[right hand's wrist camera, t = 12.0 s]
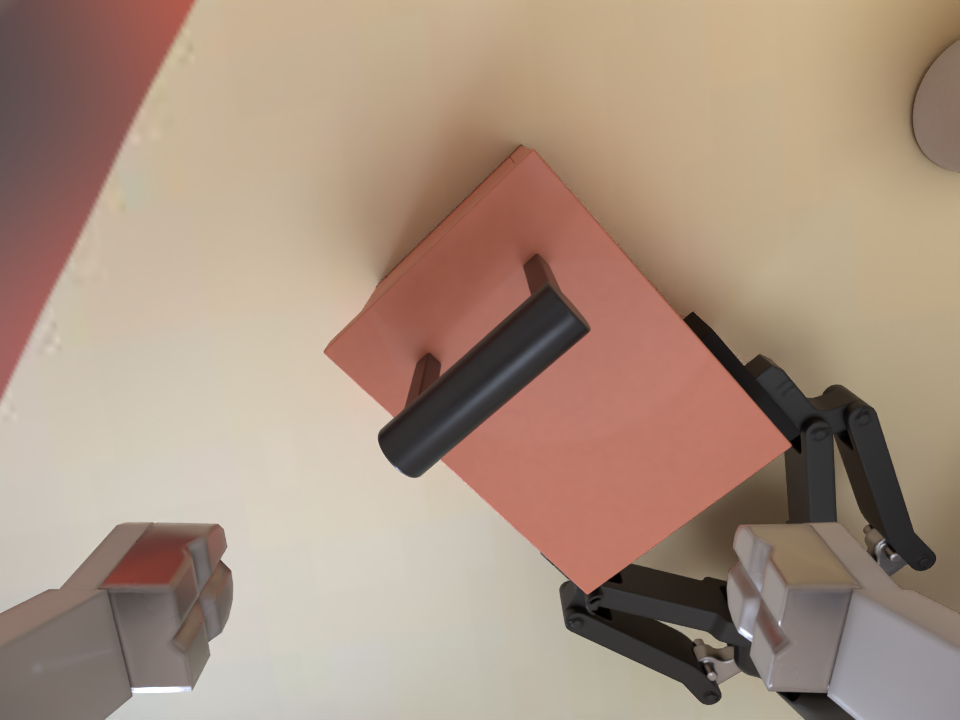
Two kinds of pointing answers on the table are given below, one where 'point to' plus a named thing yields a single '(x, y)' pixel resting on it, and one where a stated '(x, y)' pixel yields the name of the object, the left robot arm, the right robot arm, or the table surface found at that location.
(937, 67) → the coffee cup
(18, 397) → the table surface
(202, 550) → the right robot arm
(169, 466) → the table surface
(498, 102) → the table surface
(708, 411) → the lid
